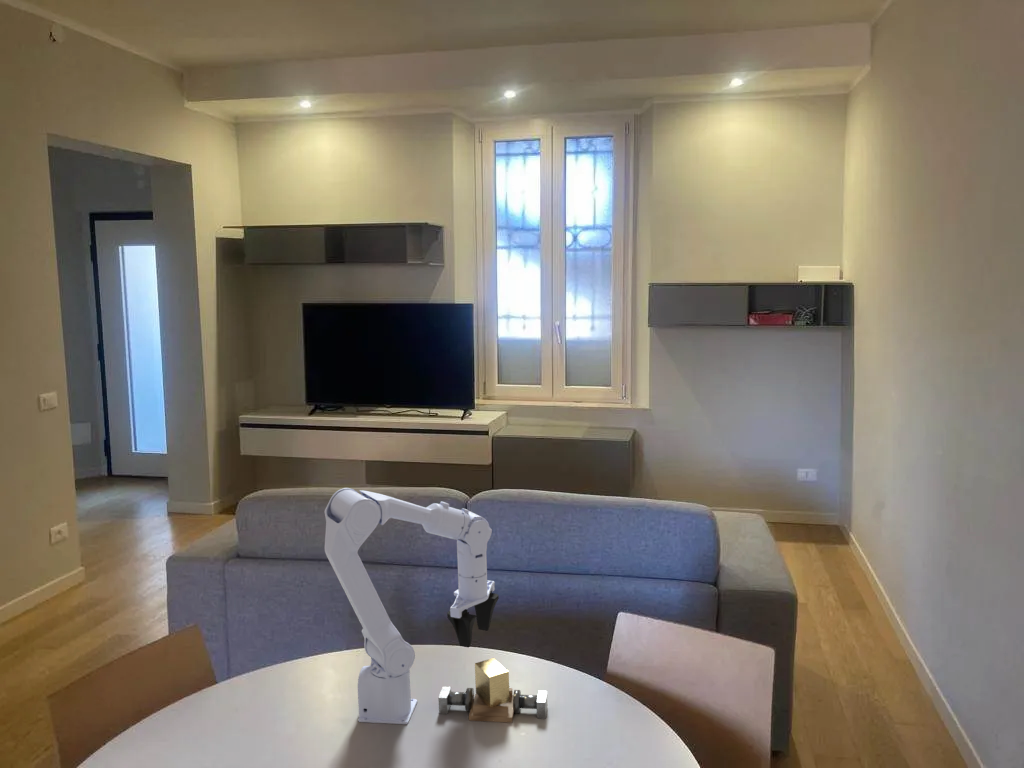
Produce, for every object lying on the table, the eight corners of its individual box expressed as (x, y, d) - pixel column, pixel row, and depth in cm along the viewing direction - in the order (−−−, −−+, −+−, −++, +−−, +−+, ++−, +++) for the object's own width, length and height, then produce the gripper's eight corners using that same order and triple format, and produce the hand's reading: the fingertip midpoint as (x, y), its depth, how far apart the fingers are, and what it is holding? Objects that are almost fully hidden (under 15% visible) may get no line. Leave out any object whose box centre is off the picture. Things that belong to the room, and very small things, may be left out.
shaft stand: (437, 719, 148) (436, 698, 148) (445, 697, 156) (444, 677, 155) (544, 724, 146) (544, 703, 145) (548, 701, 153) (547, 682, 153)
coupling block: (509, 701, 149) (508, 671, 148) (490, 707, 147) (489, 677, 146) (494, 687, 154) (493, 657, 153) (475, 692, 152) (474, 663, 151)
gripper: (472, 557, 166) (474, 619, 168) (435, 582, 153) (438, 649, 155) (503, 562, 163) (504, 625, 165) (467, 588, 150) (470, 656, 152)
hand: (474, 637), depth 160 cm, fingers open, 7 cm apart
